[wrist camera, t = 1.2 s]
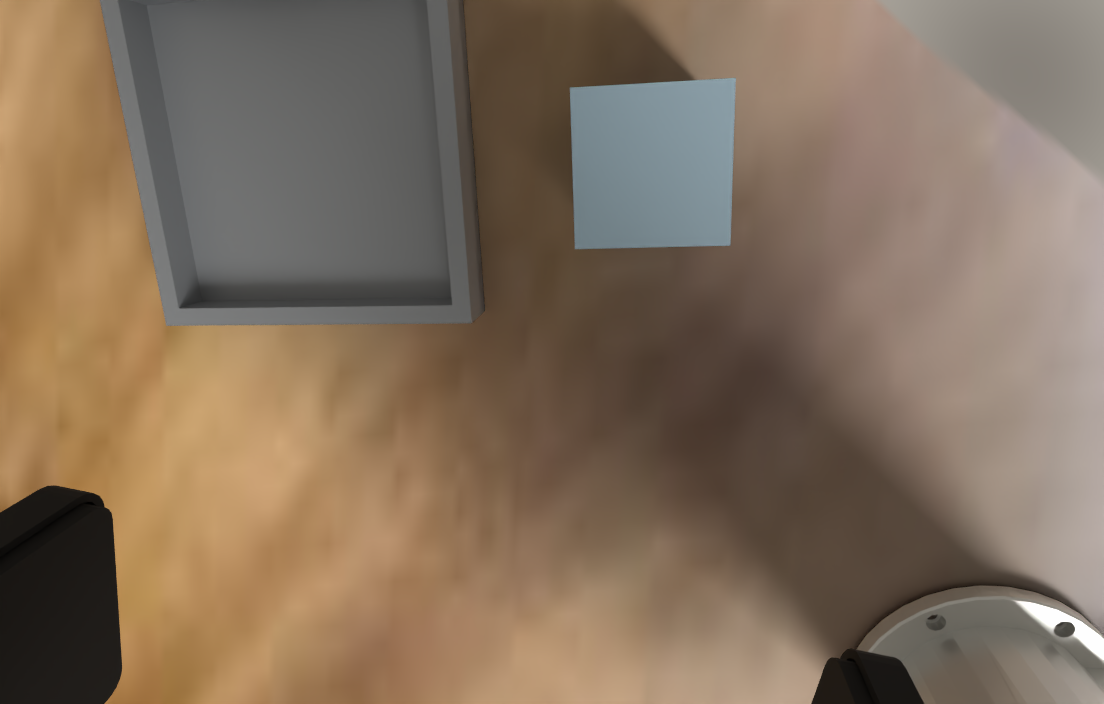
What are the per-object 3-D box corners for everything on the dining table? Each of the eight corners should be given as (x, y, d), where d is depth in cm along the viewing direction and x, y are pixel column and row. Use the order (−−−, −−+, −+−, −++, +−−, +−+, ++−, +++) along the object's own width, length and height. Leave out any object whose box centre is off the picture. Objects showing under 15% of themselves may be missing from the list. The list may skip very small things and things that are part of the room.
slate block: (711, 99, 28) (735, 77, 20) (708, 222, 29) (730, 245, 21) (590, 106, 28) (569, 87, 21) (593, 225, 30) (574, 249, 22)
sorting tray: (460, -38, 28) (442, -56, 25) (484, 310, 32) (471, 323, 29) (139, -10, 30) (95, -24, 27) (200, 313, 34) (166, 325, 31)
